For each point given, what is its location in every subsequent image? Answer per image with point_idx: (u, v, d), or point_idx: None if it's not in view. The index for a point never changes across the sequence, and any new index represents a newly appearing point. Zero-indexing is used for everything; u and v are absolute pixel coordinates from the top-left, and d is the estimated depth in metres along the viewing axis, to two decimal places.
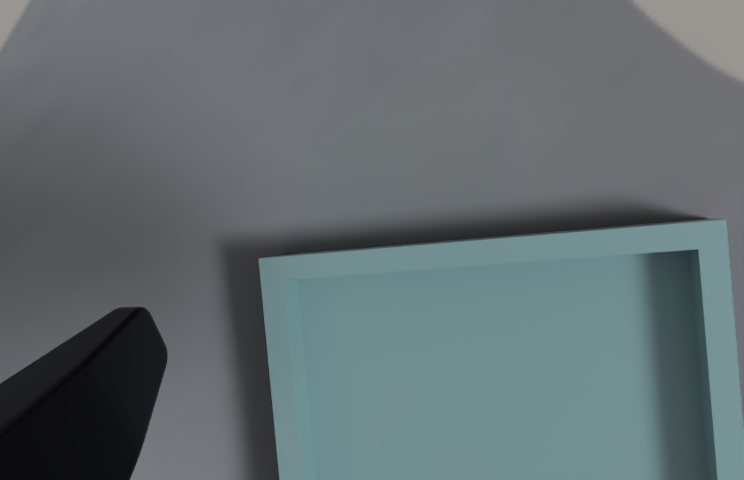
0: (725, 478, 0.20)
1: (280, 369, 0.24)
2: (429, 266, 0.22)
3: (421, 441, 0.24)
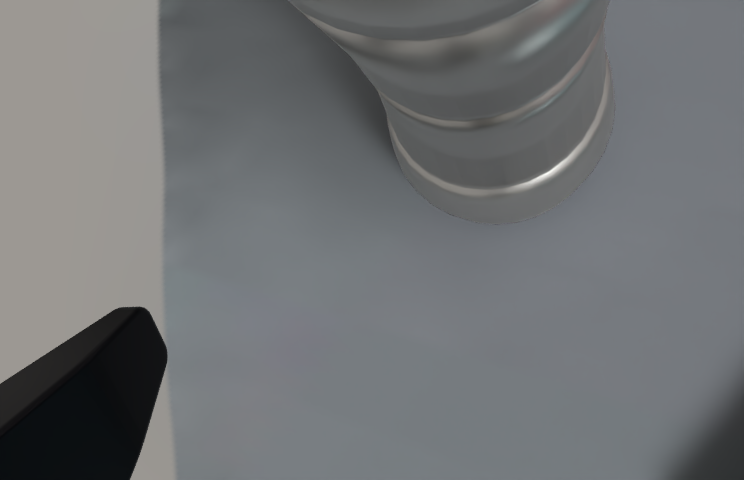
0: None
1: None
2: None
3: None
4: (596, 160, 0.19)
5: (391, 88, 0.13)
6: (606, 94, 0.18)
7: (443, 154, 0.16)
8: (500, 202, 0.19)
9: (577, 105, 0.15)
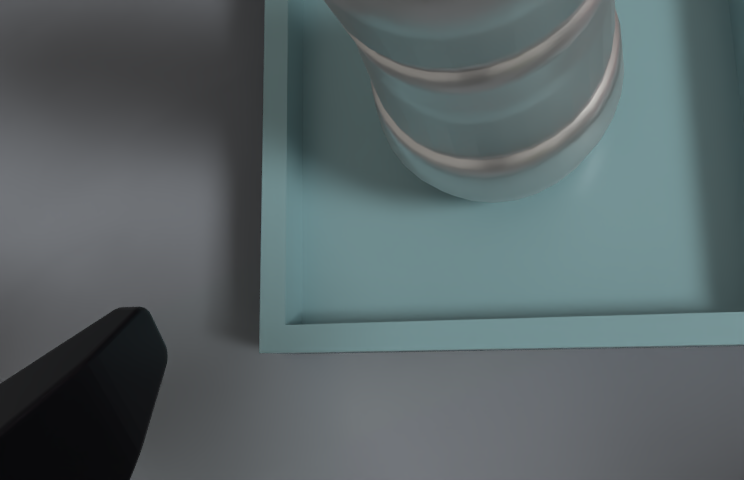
0: None
1: (276, 11, 0.22)
2: None
3: None
4: (604, 128, 0.17)
5: (368, 31, 0.11)
6: (615, 52, 0.16)
7: (431, 118, 0.14)
8: (498, 175, 0.17)
9: (584, 58, 0.14)
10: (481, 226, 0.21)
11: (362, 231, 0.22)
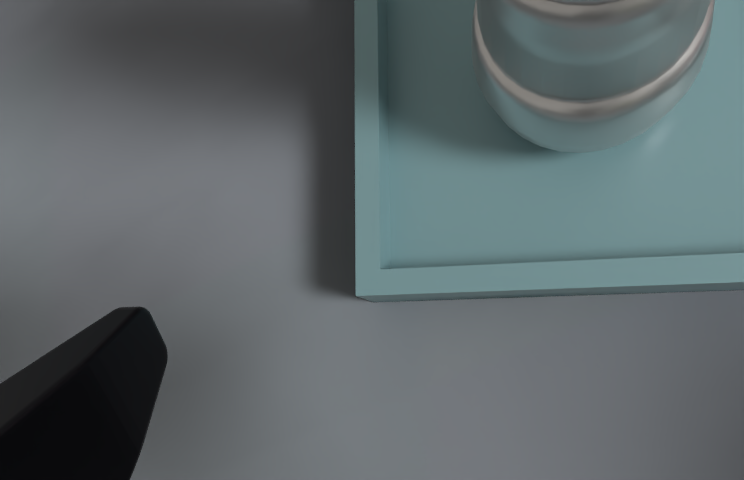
0: None
1: None
2: None
3: None
4: (693, 77, 0.19)
5: None
6: (712, 2, 0.17)
7: (552, 57, 0.16)
8: (598, 119, 0.18)
9: None
10: (564, 177, 0.22)
11: (448, 184, 0.23)
